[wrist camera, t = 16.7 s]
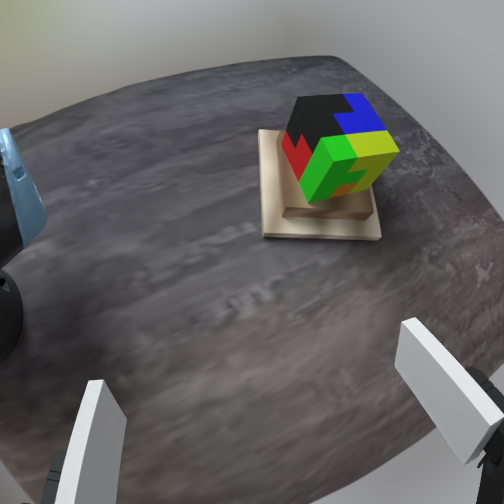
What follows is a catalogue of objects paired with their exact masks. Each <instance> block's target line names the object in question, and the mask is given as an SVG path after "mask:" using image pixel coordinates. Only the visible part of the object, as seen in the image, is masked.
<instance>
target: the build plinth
mask: <svg viewBox="0 0 504 504" xmlns="http://www.w3.org/2000/svg"><path fill="white" fill-rule="evenodd" d="M285 132H286V131H273V130H261V129H259V133H258V146H259V168H260V190H261V213H262V237H287V238H319V239H348V240H374V241H377V240H379V239H380V238H381V237H382V236H381V230H380V224H379V219H378V214H377V208H376V203H375V198H374V194H373V189H372V184H371V185H370V187H369V188H368V189H367V190H363V191H359V192H354V193H350V194H346V195H341V196H337V197H333V198H328V199H324V200H320V201H316V202H312V203H307V201H306V198H305V196H304V194H303V192H302V189H301V187H300V185H299V183H298V180H297V178H296V176H295V174H294V172H293V169H292V167H291V165H290V163H289V161H288V159H287V157H286V154H285V152H284V150H283V148H282V146H281V143H282V140H283V137H284V134H285Z"/></svg>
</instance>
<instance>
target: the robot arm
mask: <svg viewBox="0 0 504 504" xmlns="http://www.w3.org/2000/svg"><path fill="white" fill-rule="evenodd" d="M46 221H47V212H46V209H45V206H44V204H43V202H42V200H41V197H40V195H39V193H38V191H37V188H36V186H35V184H34V182H33V180H32V178H31V175H30V173H29V171H28V169H27V167H26V164H25V162H24V160H23V158H22V155H21V153H20V151H19V149H18V146H17V144H16V142H15V140H14V138H13V136H12V134H11V133H10V130H9V129H8V128H4V129H2V130H0V361H2V360H4V359H5V358H6V357H7V356H8V355H9V354H10V353H11V351H12V350H13V348H14V346H15V345H16V342H17V340H18V337H19V334H20V329H21V324H22V304H21V299H20V294H19V291H18V288H17V286H16V284H15V282H14V280H13V279H12V278H11V276H10V275H9V274H8V273H7V272H6V271H4V270H3V269H1V268H2V267H4V266H5V265H6V264H7V263H8V262H9V261H10V260H11V259H13V258H14V257H15V256H16V255H17V254H18V253H20V252H21V251H22V250H23V249H25V248H26V247H27V246H28V243H29V242H30V241H32V240H33V239H34V238H35V237H36V236H37V235H38V234H39V233H40V232H41V231H42V230H43V228H44V227H45V224H46ZM394 367H395V368H396V369H397V371H398V372H399V373H400V375H401V376H402V378H403V379H404V380H405V382H406V383H407V385H408V386H409V387H410V389H411V390H412V392H413V393H414V394H415V396H416V397H417V399H418V400H419V402H420V403H421V404H422V406H423V407H424V409H425V410H426V412H427V413H428V415H429V416H430V417H431V419H432V420H433V422H434V423H435V425H436V426H437V428H438V429H439V431H440V432H441V434H442V435H443V436H444V438H445V439H446V441H447V442H448V444H449V445H450V447H451V448H452V450H453V451H454V453H455V454H456V456H457V457H458V459H459V461H460V462H461V464H462V465H463V466H464V465H466V464H468V463H469V462H471V461H472V460H474V459H475V458H477V457H478V456H479V454H480V453H481V452H482V450H484V451H485V453H486V454H485V456H484V457H483V458H482V460H481V461H480V462H479V464H478V466H477V468H480V466H481V465H482V464H483V469H482V476H481V481H480V487H479V492H478V497H477V502H476V504H504V396H503V395H502V393H501V392H500V391H499V390H498V389H497V388H496V387H494V384H493V383H492V382H491V381H489V379H488V378H487V377H486V376H485V375H484V374H483V373H482V371H480V370H478V369H476V368H474V367H472V366H470V367H468V368H466V369H464V368H463V367H462V366H461V365H460V364H459V363H458V362H457V360H456V359H455V358H454V357H453V356H452V355H451V354H450V353H449V352H448V351H447V350H446V349H445V348H444V346H443V345H442V344H441V343H440V342H439V341H438V340H437V339H436V338H435V337H434V336H433V335H432V334H431V333H430V332H429V331H428V330H427V329H426V328H425V327H424V326H423V325H422V324H421V323H420V321H419V320H418V319H417V318H416V317H415V318H412V319H408V320H405V321H402V323H401V330H400V336H399V342H398V348H397V354H396V360H395V365H394ZM126 423H127V419H126V417H125V415H124V414H123V412H122V410H121V409H120V407H119V405H118V404H117V402H116V400H115V399H114V397H113V395H112V394H111V392H110V390H109V388H108V386H107V385H106V383H105V381H104V380H89V381H88V384H87V387H86V390H85V393H84V396H83V399H82V402H81V406H80V409H79V412H78V415H77V419H76V422H75V425H74V429H73V432H72V435H71V439H70V443H69V446H68V450H67V451H62V450H59V451H58V452H57V453H56V455H55V456H54V458H53V459H52V462H51V465H50V469H49V471H50V472H49V473H48V476H47V481H46V484H45V488H44V492H43V497H42V501H41V504H116V496H117V486H118V478H119V470H120V462H121V455H122V448H123V441H124V435H125V429H126ZM22 504H30V503H22Z"/></svg>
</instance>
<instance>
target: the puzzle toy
mask: <svg viewBox="0 0 504 504" xmlns="http://www.w3.org/2000/svg"><path fill="white" fill-rule="evenodd" d="M281 146H282V148H283V150H284V152H285V154H286V157H287V159H288V161H289V163H290V165H291V167H292V169H293V172H294V174H295V176H296V178H297V180H298V183H299V185H300V187H301V189H302V192H303V194H304V196H305V198H306V201H307V203H312V202H316V201H320V200H324V199H328V198H333V197H337V196H341V195H346V194H350V193H354V192H359V191H363V190H367V189H368V188H369V187H370V185H371V184H372V183H373V182H374V181H375V180H376V179H377V177H378V176H379V175H380V174H381V173H382V172H383V170H384V169H385V168H386V167H387V166H388V165H389V163H390V162H391V161H392V160H393V159H394V158H395V156H396V155H397V154H398V153H399V152H400V151H399V149H398V148H397V146H396V144H395V143H394V141H393V139H392V138H391V136H390V135H389V133H388V131H387V130H386V128H385V127H384V125H383V123H382V122H381V120H380V119H379V117H378V116H377V114H376V113H375V111H374V110H373V108H372V107H371V105H370V104H369V102H368V101H367V100H366V98H365V97H364V95H363V94H362V93H361V94H333V95H317V96H303V97H297V100H296V103H295V106H294V109H293V112H292V114H291V117H290V120H289V123H288V126H287V129H286V132H285V134H284V137H283V140H282V143H281Z"/></svg>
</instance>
